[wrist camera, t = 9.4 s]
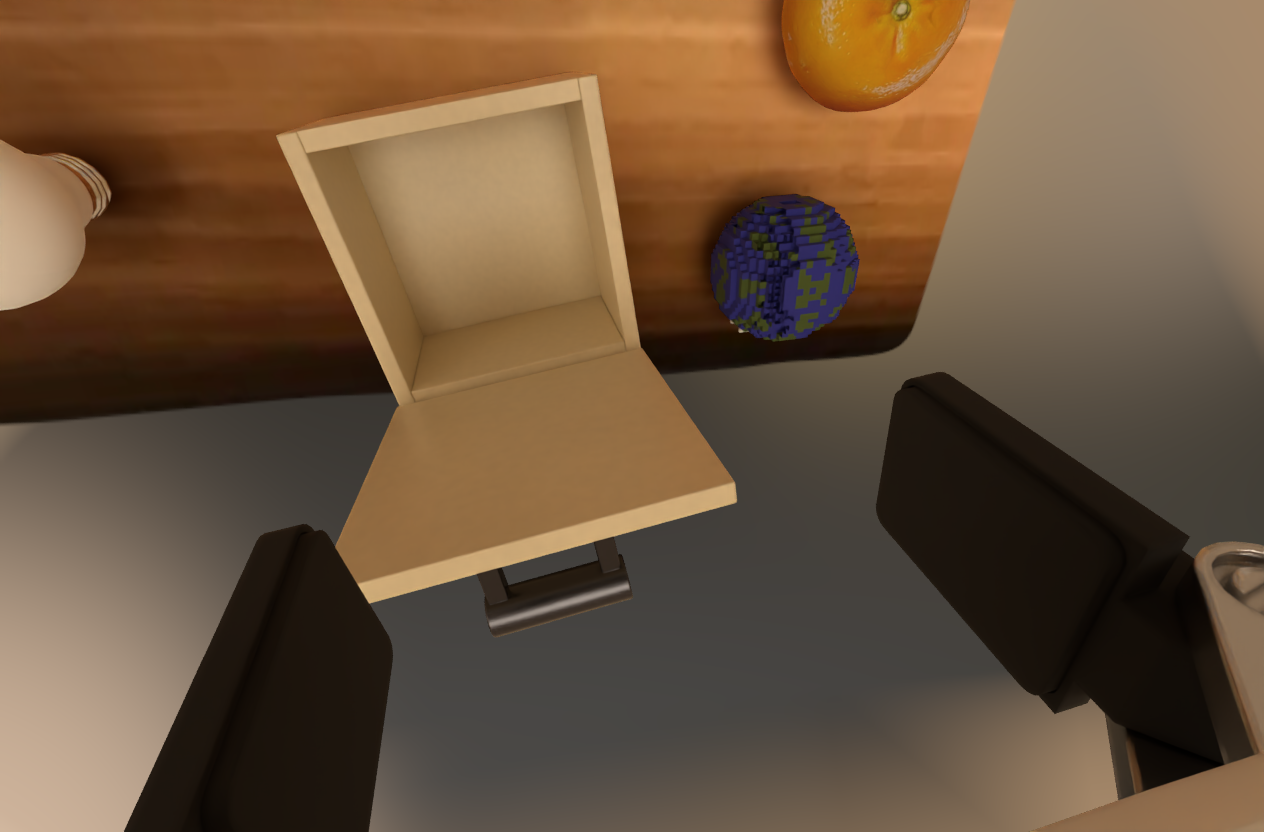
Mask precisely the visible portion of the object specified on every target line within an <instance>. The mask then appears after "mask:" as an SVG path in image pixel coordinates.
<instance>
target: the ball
mask: <svg viewBox="0 0 1264 832" xmlns="http://www.w3.org/2000/svg"><path fill="white" fill-rule="evenodd" d="M853 240H854V239H853V238H852V234H851V230H850V226H848V225H846V224H845V220H843V219H841V218H840V214H838V213H836V212H835V208H834V207H831V206H829V205H826V204H824V202H822V201H819V200H817V199H815V198H812V197H810V196H800V195H798V194H791V195H781V196H770V197H761V199H758V201H754V203H752V205H749V207H745V209H742V211H740V212H739V213H737V216H732V220H730V221H729V223H726V227H724V230H723V232H722V235H720V236H719V240H718V244H716V245H715V248H714V249H713V253H711V281H710V283H711V284H712V290H713V291H714V298H715V299H716V300H717V302H718V303H719V309H720V310H721V311H722V312H723V313H724V314H725V315H726V316H727V317H728V318H729V319H730V323H731V324H735V325H737V326H738V327H739V332H748V331H749V332H750V333H752V334H753V335H754V336H755V337H756V338H763V339H764V340H767V339H771V340H772V341H782V340H789V339H797V338H804V337H807V336H808V334H811V331H815V330H820V327H823V326H824V324H825V323H832V320H833V319H836V316H839V310H841V308H842V307H844V304H846V301H847V297H849V295H850V294H852V291H854V288H855V282H856V277H857V271H858V266H859V260H860V259H858V255H857V251H856V247H855V246H854V244H855V243H854V242H853Z"/></svg>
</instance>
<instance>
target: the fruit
mask: <svg viewBox="0 0 1264 832" xmlns="http://www.w3.org/2000/svg"><path fill="white" fill-rule="evenodd" d="M969 3H970V0H784V4H783V9H782V35H783V40H784V45H785V52H786V58H787V61H788V64H789V67H790V70H791V72H792V74H793V75H794V77H795V78H796V80H797V81H798V83H799V84H800V85H801V87H802V88H803V89H804V90H805V91H806V92H807V93H808V95H809V96H810V97H811V98H812V99H813V100H815V101H816V102H818V103H819V104H821V105H823V106H824V107H826V108H829V109H832V110H835V111H843V112H859V111H870V110H875V109H878V108H882V107H885V106H888V105H890V104H893V103H895V102H897V101H899V100H901V99H902V98H904V97H906V96H907V95H909V94H910V93H911V92H913V91H914V90H916V89H917V88H918V87H920V86H921V85H922V84H923V83H924V82H925V81H926V80H927V79H928V78H929V77H930V76H931V74H932V73H933V72H934V71H935V69H936V68H937V67H938V66H939V64H940V63H941V61H942V60H943V59H944V57H945V56H946V54H947V53H948V51H949V50H950V49H951V47H952V45H953V44H954V42H955V40H956V39H957V37H958V35H959V33H960V31H961V29H962V27H963V24H964V21H965V18H966V15H967V12H968V8H969Z"/></svg>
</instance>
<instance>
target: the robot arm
mask: <svg viewBox="0 0 1264 832" xmlns="http://www.w3.org/2000/svg"><path fill="white" fill-rule="evenodd" d="M876 511H877V516H878V519H879V521H880V523H881V524H882V526H883V527H884V528H885V529H886V531H887V532H888V533H889V534H890V535H891V536H892V538H893V539H894V540H895V541H896V542H897V543H898V544H899V546H900V547H901V548H902V549H903V550H904V551H905V553H906V554H907V555H908V556H909V557H910V558H911V560H912V561H913V562H914V563H915V564H916V565H917V566H918V568H919V569H920V570H921V571H922V572H923V573H924V575H925V576H926V577H927V578H928V579H929V580H930V582H931V583H932V584H933V585H934V586H935V587H936V588H937V590H938V591H939V592H940V593H941V594H942V595H943V597H944V598H945V599H946V600H947V601H948V602H949V603H950V605H951V606H952V607H953V608H954V609H955V610H956V612H958V614H959V615H960V616H961V617H962V619H963V620H964V621H965V622H966V623H967V624H968V626H969V627H970V628H971V629H972V630H973V631H974V632H975V633H976V635H977V636H978V637H979V638H980V639H981V640H982V642H983V643H984V644H985V645H986V646H987V647H988V649H989V650H990V651H991V652H992V653H993V654H994V656H995V657H996V658H997V659H998V660H999V661H1000V663H1001V664H1002V665H1003V666H1004V667H1005V668H1006V669H1007V671H1008V672H1009V673H1010V674H1011V675H1012V676H1013V678H1014V679H1015V680H1016V681H1017V682H1018V683H1019V684H1020V685H1021V686H1022V687H1023V688H1024V689H1025V690H1026V691H1027V692H1029V693H1031V694H1033V695H1039V696H1040V698H1041V699H1042V700H1043V701H1044V702H1045V703H1046V704H1047V706H1048V707H1049V708H1050V709H1051V710H1052V711H1053V712H1054V714H1056V713H1059V712H1062V711H1065V710H1068V709H1071V708H1074V707H1077V706H1080V705H1083V704H1086V703H1088V701H1089V699H1090V698H1091V699H1092V700H1093V701H1094V702H1095V703H1096V704H1097V705H1098V706H1099V707H1100V709H1102V711H1103V712H1104V713H1105V717H1106V722H1107V729H1108V736H1109V743H1110V749H1111V755H1112V762H1113V768H1114V775H1115V781H1116V787H1117V794H1118V801H1115V802H1113V803H1110V804H1107V805H1104V806H1101V807H1098V808H1096V809H1093V810H1090V811H1087V812H1084V813H1081V814H1079V815H1076V816H1073V817H1070V818H1067V819H1065V820H1061V821H1059V822H1056V823H1053V824H1050V825H1047V826H1045V827H1042V828H1039V829H1036V830H1033V831H1030V832H1264V546H1262V545H1258V544H1251V543H1243V542H1234V541H1233V542H1221V543H1214V544H1212V545H1210V546H1207V547H1205V548H1202V549H1201V551H1200V552H1199V553H1198V555H1197V556H1196V557H1195V559H1194V558H1192V557H1191V556H1190V555H1188V554H1187V553H1185V552H1184V551H1182V549H1183V547H1184V546H1185V544H1186V542H1187V541H1188V539H1189V536H1188V535H1186V534H1185V533H1183V532H1182V531H1180V530H1179V529H1177V528H1176V527H1174V526H1173V525H1171V524H1170V523H1169V522H1167V521H1166V520H1164V519H1163V518H1161V517H1160V516H1158V515H1156V514H1155V513H1154V512H1152V511H1151V510H1149V509H1148V508H1146V507H1145V506H1143V505H1142V504H1140V503H1139V502H1137V501H1136V500H1134V499H1133V498H1131V497H1130V496H1128V495H1127V494H1125V493H1124V492H1123V491H1121V490H1119V489H1118V488H1116V487H1115V486H1114V485H1112V484H1110V483H1109V482H1108V481H1106V480H1105V479H1103V478H1102V477H1100V476H1099V475H1097V474H1096V473H1094V472H1093V471H1091V470H1090V469H1088V468H1087V467H1085V466H1084V465H1082V464H1081V463H1080V462H1078V461H1077V460H1075V459H1074V458H1072V457H1071V456H1069V455H1068V454H1066V453H1065V452H1063V451H1062V450H1060V449H1059V448H1057V447H1056V446H1054V445H1053V444H1051V443H1050V442H1048V441H1047V440H1045V439H1044V438H1042V437H1041V436H1039V435H1038V434H1036V433H1035V432H1033V431H1032V430H1031V429H1029V428H1028V427H1026V426H1025V425H1023V424H1021V423H1020V422H1019V421H1017V420H1016V419H1014V418H1013V417H1011V416H1010V415H1008V414H1007V413H1005V412H1004V411H1002V410H1001V409H999V408H998V407H996V406H995V405H993V404H992V403H990V402H989V401H987V400H986V399H984V398H983V397H982V396H980V395H978V394H977V393H976V392H974V391H972V390H971V389H970V388H968V387H967V386H965V385H964V384H962V383H961V382H959V381H958V380H956V379H955V378H953V377H952V376H950V375H949V374H946V373H944V372H936V373H933V374H928V375H924V376H920V377H916V378H911V379H909V380H906V381H905V382H904V384H903V385H902V388H901V390H899V391H898V392H897V393H896V394H895V397H894V401H893V407H892V413H891V419H890V425H889V431H888V437H887V443H886V450H885V455H884V461H883V467H882V473H881V479H880V485H879V491H878V497H877V504H876ZM392 660H393V650H392V644H391V641H390V638H389V636H388V634H387V632H386V631H385V629H384V627H383V626H382V624H381V622H380V621H379V619H378V617H377V616H376V614H375V612H374V611H373V610H372V607H371V606H370V604H369V602H368V601H367V599H366V597H365V596H364V594H363V592H362V591H361V589H360V587H359V586H358V584H357V582H356V581H355V579H354V577H353V576H352V574H351V573H350V571H349V569H348V568H347V566H346V564H345V563H344V561H343V559H342V558H341V556H340V554H339V553H338V551H337V549H336V548H335V546H334V544H333V543H332V541H331V539H330V538H329V536H328V535H327V533H326V532H324V531H323V530H319V531H314V530H313V529H312V527H310V526H308V525H307V524H302V525H298V526H293V527H289V528H285V529H281V530H277V531H272V532H268V533H265V534H263V535H261V536H260V537H259V539H258V540H257V542H256V544H255V546H254V548H253V551H252V553H251V555H250V557H249V559H248V561H247V564H246V566H245V568H244V570H243V572H242V575H241V577H240V579H239V581H238V583H237V586H236V588H235V590H234V592H233V595H232V597H231V599H230V601H229V603H228V605H227V607H226V610H225V612H224V614H223V616H222V619H221V621H220V623H219V625H218V627H217V630H216V632H215V634H214V636H213V638H212V640H211V643H210V645H209V647H208V649H207V651H206V654H205V656H204V657H203V660H202V662H201V664H200V666H199V668H198V670H197V673H196V675H195V677H194V679H193V682H192V684H191V686H190V688H189V690H188V693H187V694H186V697H185V699H184V701H183V704H182V705H181V708H180V710H179V712H178V714H177V716H176V719H175V721H174V723H173V725H172V727H171V730H170V732H169V734H168V737H167V738H166V741H165V743H164V745H163V747H162V749H161V751H160V754H159V756H158V758H157V760H156V762H155V765H154V767H153V769H152V771H151V774H150V775H149V778H148V780H147V782H146V784H145V786H144V789H143V791H142V793H141V795H140V797H139V800H138V802H137V804H136V806H135V808H134V810H133V813H132V815H131V817H130V819H129V821H128V824H127V826H126V828H125V830H124V832H369V824H370V817H371V810H372V803H373V796H374V789H375V782H376V775H377V768H378V761H379V754H380V746H381V740H382V733H383V725H384V718H385V711H386V704H387V696H388V690H389V683H390V676H391V669H392Z"/></svg>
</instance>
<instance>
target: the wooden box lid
mask: <svg viewBox="0 0 1264 832" xmlns="http://www.w3.org/2000/svg"><path fill="white" fill-rule="evenodd" d="M736 502H737V496H736V488H735V482H734V480H733V479H732V477H731V476H730V475H729V473H728V472H727V470H726V469H725V467H724V466H723V465H722V463H721V462H720V460H719V459H718V457H717V456H716V454H715V453H714V451H713V450H712V449H711V447H710V446H709V444H708V443H707V441H706V440H705V438H704V437H703V436H702V434H701V433H700V431H699V430H698V428H697V427H696V426H695V424H694V423H693V421H692V420H691V418H690V417H689V415H688V414H687V413H686V411H685V410H684V408H683V407H682V405H681V404H680V403H679V401H678V399H677V398H676V397H675V395H674V394H673V392H672V391H671V390H670V388H669V386H668V385H667V384H666V382H665V381H664V379H663V378H662V376H661V375H660V373H659V372H658V371H657V369H656V368H655V366H654V365H653V363H652V362H651V360H650V359H649V358H648V356H647V355H646V353H645V352H644V350H643V349H642V348H640V349H636V350H631V351H627V352H623V353H619V354H615V355H611V356H607V357H603V358H598V359H594V360H590V361H586V362H582V363H578V364H574V365H569V366H565V367H561V368H557V369H553V370H549V371H545V372H540V373H536V374H532V375H528V376H524V377H520V378H516V379H511V380H507V381H503V382H499V383H495V384H491V385H487V386H483V387H478V388H474V389H470V390H466V391H462V392H458V393H454V394H449V395H445V396H441V397H437V398H433V399H429V400H425V401H420V402H416V403H412V404H408V405H404V406H400V407H397V408H396V411H395V413H394V415H393V417H392V420H391V422H390V424H389V426H388V429H387V431H386V434H385V436H384V438H383V440H382V442H381V445H380V447H379V449H378V452H377V454H376V456H375V458H374V461H373V463H372V465H371V467H370V469H369V472H368V474H367V477H366V479H365V481H364V483H363V485H362V488H361V490H360V492H359V494H358V497H357V499H356V501H355V504H354V506H353V508H352V510H351V513H350V515H349V517H348V520H347V522H346V524H345V526H344V529H343V531H342V533H341V535H340V538H339V540H338V542H337V544H336V546H335V548H336V549H337V551H338V553H339V554H340V556H341V558H342V559H343V561H344V563H345V564H346V566H347V568H348V569H349V571H350V573H351V574H352V576H353V577H354V579H355V581H356V582H357V584H358V586H359V587H360V589H361V591H362V592H363V594H364V596H365V597H366V599H367V601H368V602H369V603H372V602H376V601H380V600H383V599H387V598H390V597H394V596H398V595H402V594H405V593H409V592H413V591H416V590H420V589H423V588H427V587H431V586H434V585H438V584H442V583H445V582H448V581H453V580H456V579H460V578H463V577H467V576H470V575H474V574H477V576H478V578H479V581H480V583H481V586H482V588H483V591H484V593H485V612H486V618H487V622H488V625H489V628H490V631H491V633H492V635H493V636H494V637H499V636H503V635H506V634H510V633H513V632H517V631H520V630H524V629H527V628H531V627H534V626H538V625H541V624H544V623H548V622H551V621H555V620H559V619H562V618H566V617H569V616H572V615H576V614H580V613H583V612H586V611H590V610H593V609H597V608H601V607H604V606H607V605H611V604H614V603H618V602H621V601H625V600H628V599H632V598H633V595H632V591H631V586H630V582H629V578H628V575H627V571H626V567H625V563H624V560H623V557H622V555H621V554H619V555H618V553H617V548H616V544H615V541H614V536H616V535H620V534H624V533H627V532H631V531H635V530H638V529H642V528H645V527H649V526H653V525H656V524H660V523H663V522H667V521H671V520H675V519H678V518H682V517H686V516H689V515H693V514H697V513H700V512H704V511H707V510H711V509H715V508H718V507H722V506H725V505H729V504H733V503H736ZM591 542H594V545H595V549H596V553H597V556H598V561H594V562H591V563H587V564H583V565H580V566H576V567H573V568H569V569H565V570H562V571H558V572H555V573H551V574H548V575H544V576H540V577H537V578H533V579H529V580H526V581H522V582H519V583H515V584H511V585H508V583H507V580H506V578H505V575H504V572H503V570H502V567H503V566H507V565H511V564H514V563H518V562H522V561H525V560H529V559H532V558H536V557H540V556H544V555H547V554H551V553H555V552H558V551H562V550H565V549H569V548H572V547H576V546H580V545H584V544H587V543H591Z"/></svg>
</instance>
